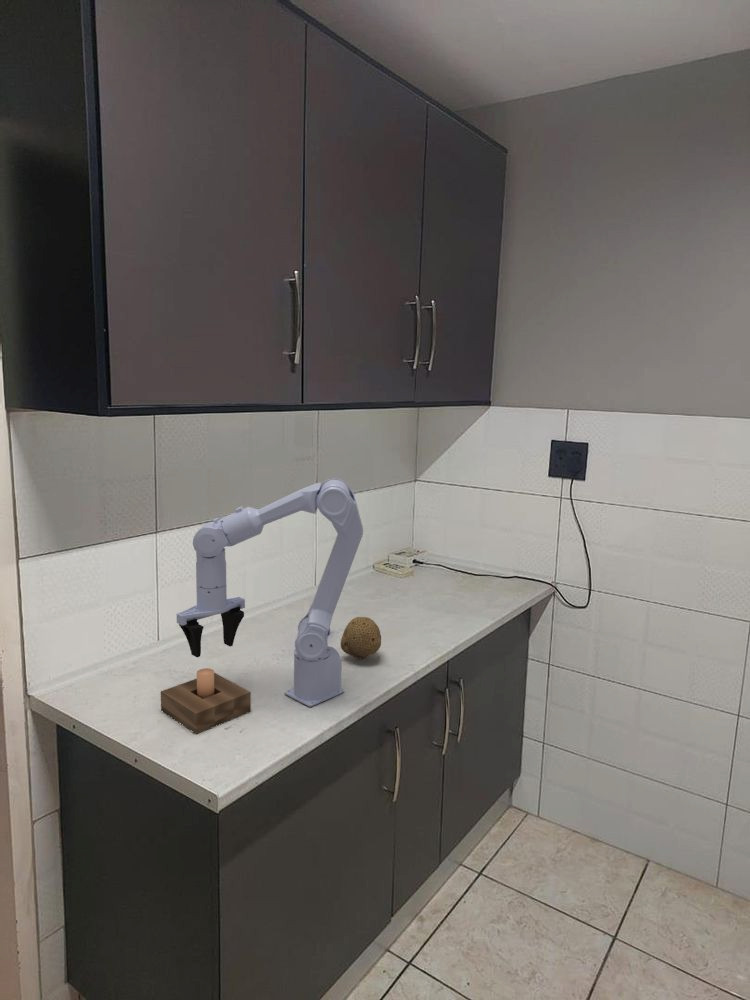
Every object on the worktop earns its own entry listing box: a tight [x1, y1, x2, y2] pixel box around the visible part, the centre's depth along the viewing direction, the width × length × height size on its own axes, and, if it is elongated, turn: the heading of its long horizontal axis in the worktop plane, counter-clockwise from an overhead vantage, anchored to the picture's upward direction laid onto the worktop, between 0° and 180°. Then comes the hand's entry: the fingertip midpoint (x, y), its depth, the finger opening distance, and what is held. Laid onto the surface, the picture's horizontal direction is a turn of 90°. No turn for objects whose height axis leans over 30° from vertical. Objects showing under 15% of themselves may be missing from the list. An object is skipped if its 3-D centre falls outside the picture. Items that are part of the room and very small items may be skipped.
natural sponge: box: [340, 616, 382, 660], centre depth 156 cm, size 9×9×10 cm
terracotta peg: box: [196, 667, 215, 699], centre depth 130 cm, size 3×3×7 cm
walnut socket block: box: [160, 672, 252, 735], centre depth 130 cm, size 12×12×4 cm
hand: (212, 650), depth 136 cm, fingers open, 7 cm apart
